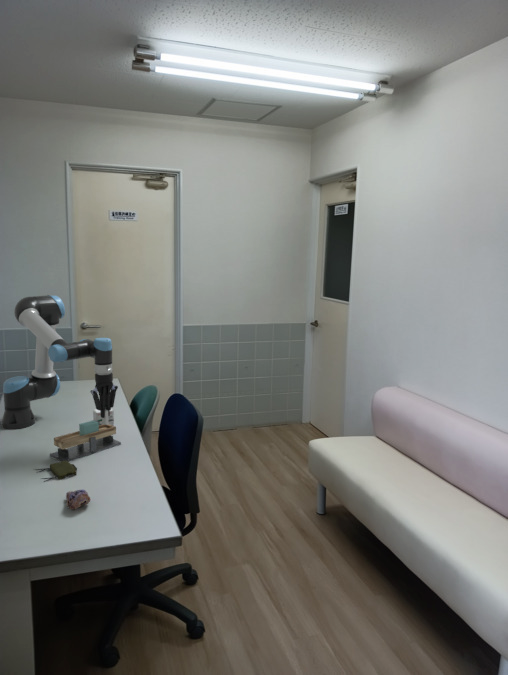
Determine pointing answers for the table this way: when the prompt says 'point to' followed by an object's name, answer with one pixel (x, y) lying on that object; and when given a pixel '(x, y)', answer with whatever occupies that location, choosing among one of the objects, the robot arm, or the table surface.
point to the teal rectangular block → (88, 427)
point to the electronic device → (60, 470)
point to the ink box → (98, 417)
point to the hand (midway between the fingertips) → (105, 423)
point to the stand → (85, 449)
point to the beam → (83, 437)
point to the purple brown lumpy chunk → (77, 498)
